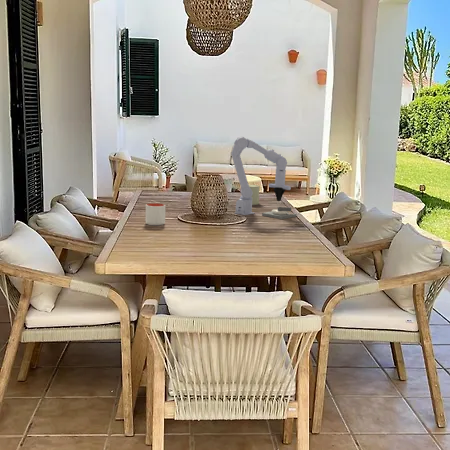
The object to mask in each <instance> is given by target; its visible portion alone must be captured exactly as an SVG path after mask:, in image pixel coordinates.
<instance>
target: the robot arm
mask: <svg viewBox="0 0 450 450" xmlns="http://www.w3.org/2000/svg"><path fill="white" fill-rule="evenodd" d="M246 148H247V149H253V150H255V151H257V152H259V153H261V154H263V156H264V158H265V160H268V161H270V162H271V163H273V164H276V166H275V173H274V174H275V177H274V183H268V187H269V188H273V191H274V194H275V197H276V201H277V202H281V201H282V197H283V195H284V194H285V192H286V191H291V188H292V186H289V185H286V172H287V171H286V168H287V165H288V162H287V159H286V158H285V157H283V155H282V154H281V153H277V152H276V151H275V149H270V148H269V149H267V148H265V147H263V146H261V145H260V144H258V143H256V142H255V141H253V140H250V139H249V138H245V137H244V136H239V137H237V139H236V140H235V141H234V142H233V147H232V150H231V153H230V154H231V157H232V161H233V165H234V168H235V171H236V176H237V177H238V183H239V185H240V194H241V196H239V198H238V199H237V200H236V202H235V211H234V214H236V215H237V214H238V215H242V216H247V215H253V214H255V213H256V212H253V205H252V197H251V196H252V194H253V192H252V190H251V188H250V187H249V185H250V184H249V183H248V179H247V175H246V172H245V168H244V165H243V161H242V158H241V154H242V152H243V151H244V150H245V149H246Z"/></svg>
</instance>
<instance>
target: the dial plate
mask: <svg viewBox="0 0 450 450" xmlns="http://www.w3.org/2000/svg"><path fill="white" fill-rule="evenodd" d="M261 214H262V216H264V217H269V218H272V219H273V218H274V219H279V220H284V219H285V220H286V219H290V218H296V217H297V213H294V212H293V213H292V212H289V211H287V214H285V215H278V214H272V210H271V211H267V212H266V211H264V212H262V213H261Z"/></svg>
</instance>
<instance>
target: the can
mask: <svg viewBox="0 0 450 450" xmlns="http://www.w3.org/2000/svg"><path fill="white" fill-rule="evenodd" d="M249 187H250V188H251V190H252V192H253V194H252V196H251V197H252V206H255V205H259V204H260V185H255V184H249Z"/></svg>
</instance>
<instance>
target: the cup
mask: <svg viewBox="0 0 450 450" xmlns="http://www.w3.org/2000/svg"><path fill="white" fill-rule="evenodd" d="M145 224H146V225H149V226H163V225H164V224H166V204H164V203H153V202H152V203H146V204H145Z"/></svg>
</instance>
